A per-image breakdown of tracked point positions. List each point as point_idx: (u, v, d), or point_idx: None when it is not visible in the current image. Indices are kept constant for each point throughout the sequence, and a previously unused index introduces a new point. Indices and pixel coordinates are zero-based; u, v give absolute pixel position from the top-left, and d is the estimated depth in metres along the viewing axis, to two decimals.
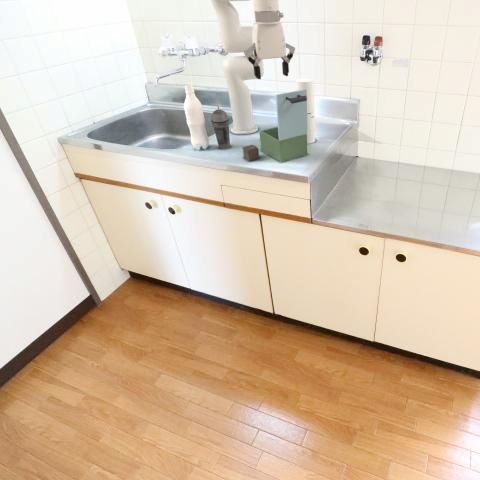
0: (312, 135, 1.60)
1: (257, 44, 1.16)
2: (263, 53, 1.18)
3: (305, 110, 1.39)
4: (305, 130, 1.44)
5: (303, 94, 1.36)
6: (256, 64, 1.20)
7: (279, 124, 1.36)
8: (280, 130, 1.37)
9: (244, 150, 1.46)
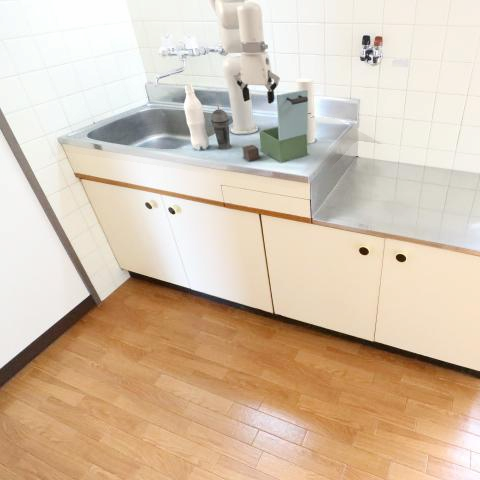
0: (312, 135, 1.60)
1: (240, 70, 1.27)
2: (246, 79, 1.28)
3: (306, 110, 1.39)
4: (305, 131, 1.44)
5: (304, 95, 1.35)
6: (242, 88, 1.31)
7: (279, 124, 1.36)
8: (280, 130, 1.37)
9: (244, 150, 1.46)
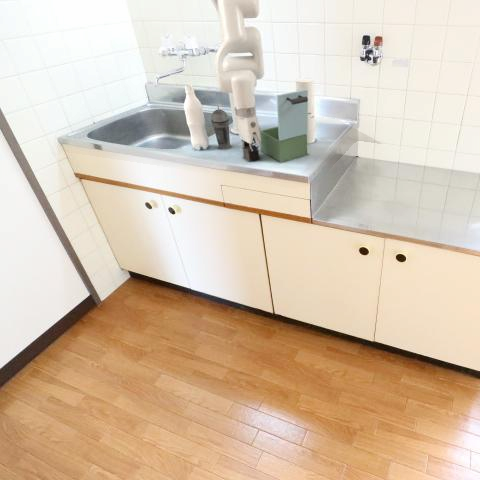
0: (312, 135, 1.60)
1: None
2: (240, 135, 1.44)
3: (306, 110, 1.39)
4: (305, 131, 1.44)
5: (304, 95, 1.35)
6: (243, 145, 1.47)
7: (279, 124, 1.36)
8: (280, 130, 1.37)
9: (244, 150, 1.46)
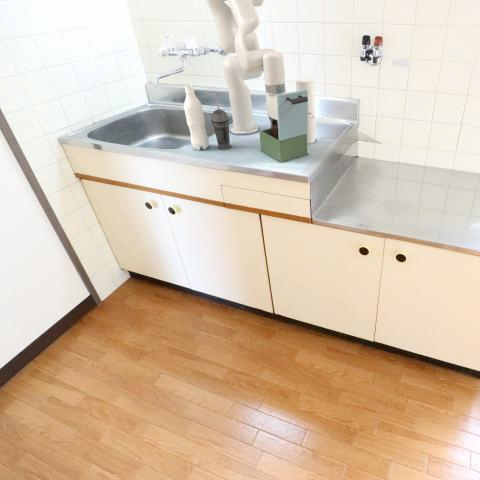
0: (312, 135, 1.60)
1: None
2: (269, 113, 1.47)
3: (306, 110, 1.39)
4: (305, 131, 1.44)
5: (304, 95, 1.35)
6: (271, 123, 1.50)
7: (279, 124, 1.36)
8: (280, 130, 1.37)
9: (272, 128, 1.49)
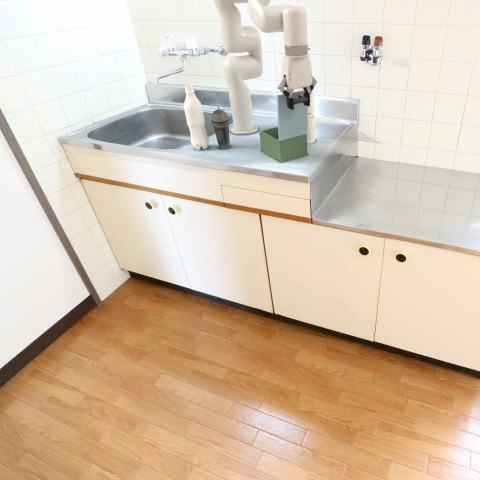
0: (312, 135, 1.60)
1: (288, 76, 1.22)
2: (293, 83, 1.25)
3: (306, 110, 1.39)
4: (305, 131, 1.44)
5: None
6: (290, 96, 1.27)
7: (279, 124, 1.36)
8: (280, 130, 1.37)
9: None
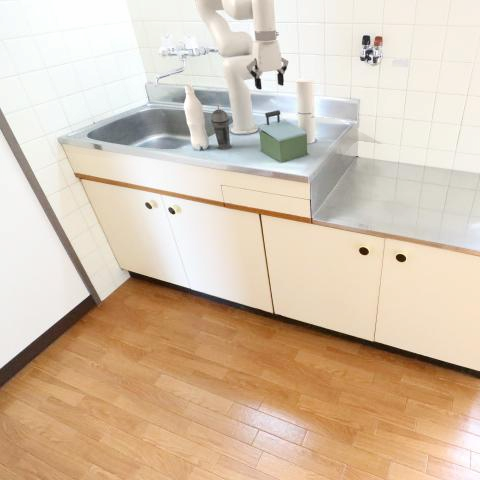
0: (312, 135, 1.60)
1: (258, 59, 1.34)
2: (263, 66, 1.36)
3: (292, 125, 1.50)
4: (302, 131, 1.45)
5: (283, 121, 1.54)
6: (257, 76, 1.37)
7: (271, 133, 1.43)
8: (275, 135, 1.42)
9: None
